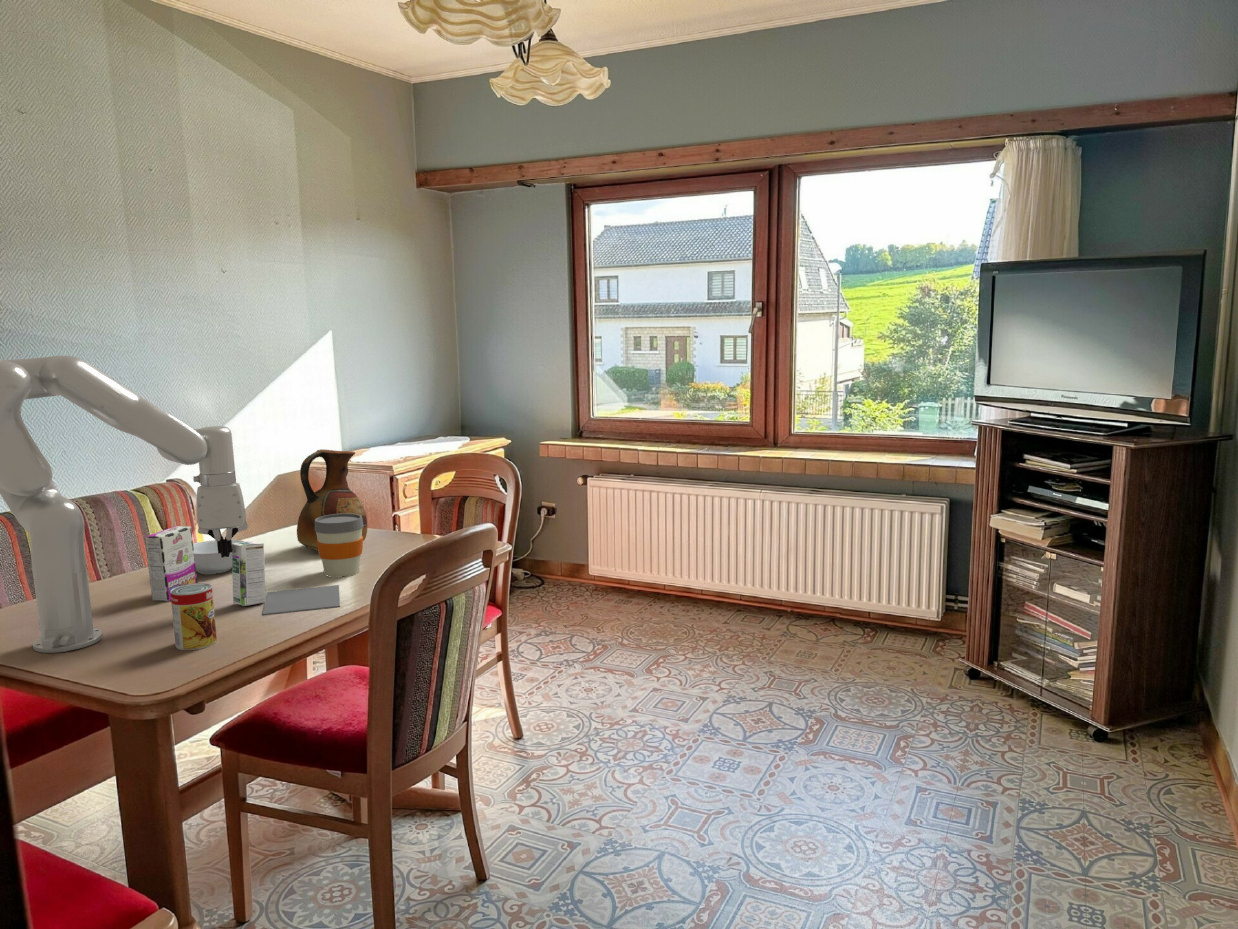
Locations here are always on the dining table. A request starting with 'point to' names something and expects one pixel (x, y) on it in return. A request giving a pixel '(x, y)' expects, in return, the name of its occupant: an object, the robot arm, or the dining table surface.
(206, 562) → the cereal bowl
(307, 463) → the ceramic pitcher
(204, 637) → the canned food
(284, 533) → the dining table surface
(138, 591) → the dining table surface
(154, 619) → the dining table surface
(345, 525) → the reusable coffee cup
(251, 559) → the syrup box
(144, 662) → the dining table surface
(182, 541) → the candy bar box
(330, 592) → the mat
